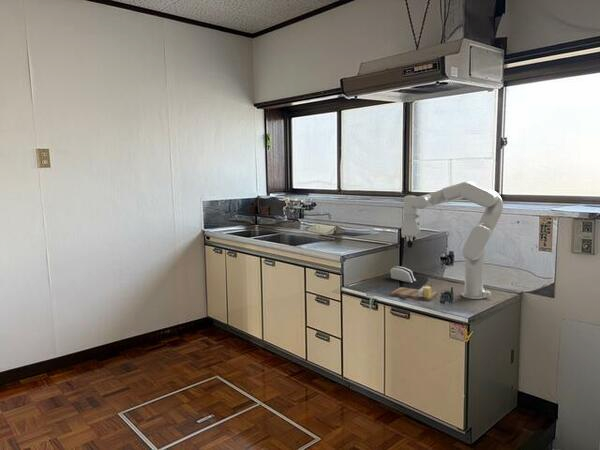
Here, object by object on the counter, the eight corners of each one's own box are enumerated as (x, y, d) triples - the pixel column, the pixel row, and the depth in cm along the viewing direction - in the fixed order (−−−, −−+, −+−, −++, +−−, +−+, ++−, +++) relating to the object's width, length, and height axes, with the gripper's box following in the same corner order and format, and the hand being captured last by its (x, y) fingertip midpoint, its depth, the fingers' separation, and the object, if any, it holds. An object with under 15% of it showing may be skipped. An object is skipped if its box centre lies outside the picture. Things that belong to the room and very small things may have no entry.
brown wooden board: (438, 294, 260) (438, 292, 260) (430, 301, 249) (430, 298, 249) (400, 289, 273) (400, 287, 273) (391, 295, 262) (390, 292, 262)
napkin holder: (416, 281, 290) (413, 267, 287) (412, 285, 288) (408, 271, 284) (396, 276, 303) (392, 263, 300) (391, 280, 301) (388, 267, 297)
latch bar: (423, 290, 264) (423, 284, 264) (429, 290, 263) (429, 285, 262) (417, 296, 253) (417, 290, 252) (423, 297, 251) (423, 291, 251)
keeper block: (431, 295, 254) (431, 286, 254) (428, 297, 251) (428, 288, 250) (425, 294, 256) (425, 286, 255) (423, 296, 253) (423, 288, 252)
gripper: (425, 216, 267) (424, 247, 270) (400, 215, 275) (400, 245, 278) (420, 218, 261) (420, 249, 264) (395, 217, 269) (395, 247, 272)
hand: (410, 247), depth 271 cm, fingers closed
